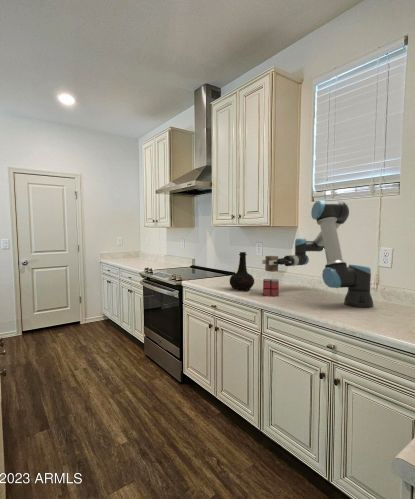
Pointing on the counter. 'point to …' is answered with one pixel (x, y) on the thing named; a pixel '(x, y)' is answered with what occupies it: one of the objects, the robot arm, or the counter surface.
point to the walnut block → (271, 267)
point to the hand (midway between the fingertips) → (265, 262)
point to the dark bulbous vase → (242, 276)
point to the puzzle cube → (270, 287)
